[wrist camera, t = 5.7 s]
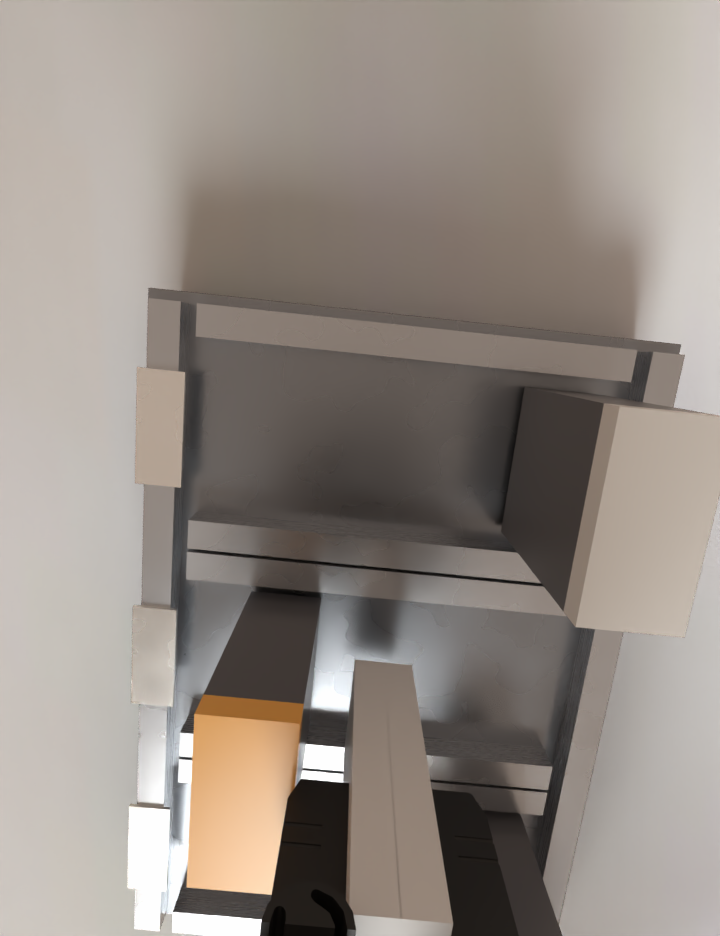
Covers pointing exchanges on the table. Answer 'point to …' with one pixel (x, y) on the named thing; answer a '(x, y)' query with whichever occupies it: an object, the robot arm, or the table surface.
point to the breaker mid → (251, 743)
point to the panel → (360, 555)
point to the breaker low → (522, 876)
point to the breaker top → (614, 506)
